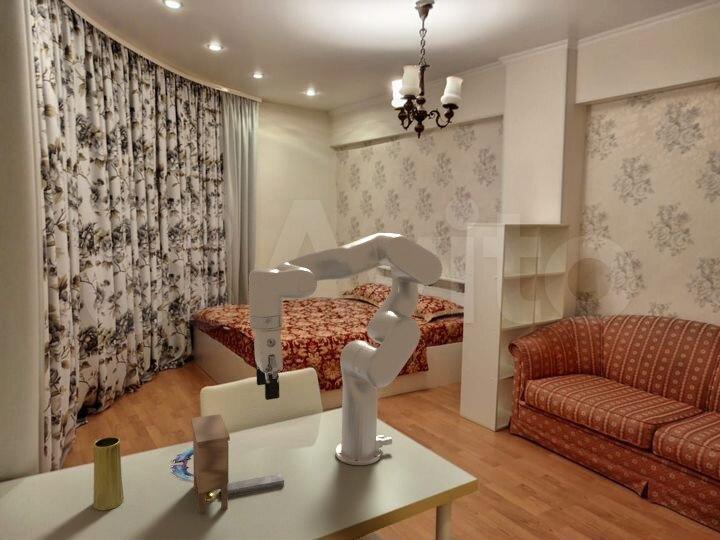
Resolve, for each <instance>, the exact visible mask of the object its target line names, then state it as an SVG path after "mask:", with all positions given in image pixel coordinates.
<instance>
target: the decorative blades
mask: <svg viewBox="0 0 720 540" xmlns="http://www.w3.org/2000/svg"><path fill="white" fill-rule="evenodd" d="M177 455H179V456H175V457H176V458H174V457H173V458H174V459H173V460H175V463H174V464H173V465H172V466H173V467H171V466H170V469H172V471H173V472H171V473H172V474H173V475H175V476H176V477H175V476H174V477H175V478H177V479H178V478H179V480H178V481H181V482H185V483H191V484H192V483H193V484H194V473H190V472H189V471H188V469H190V466H187V465H188V461H189V460H192V458H191V457H193V447H190V448H187V449H186V450H185V451H183V452H180V453H178V454H177ZM170 460H171V459H170ZM171 462H173V461H172V460H171ZM176 462H179V463H183V464H177V463H176ZM173 475H172V476H173ZM192 477H193V478H192Z"/></svg>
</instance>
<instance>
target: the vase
mask: <svg viewBox="0 0 720 540" xmlns="http://www.w3.org/2000/svg"><path fill="white" fill-rule="evenodd" d="M121 453H122V452H121V439H120V438H119V437H117V436H104V437H101V438H99V439H96V440H95V441H94V443H93V503H92V506H93V508H94V509H95V510H98V511H109V510H113V509H114V508H118V507H119V506H120V505H121V504H122V503H123V502H124V499H125V498H124V497H125V496H124V487H123V477H122V454H121Z"/></svg>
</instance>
